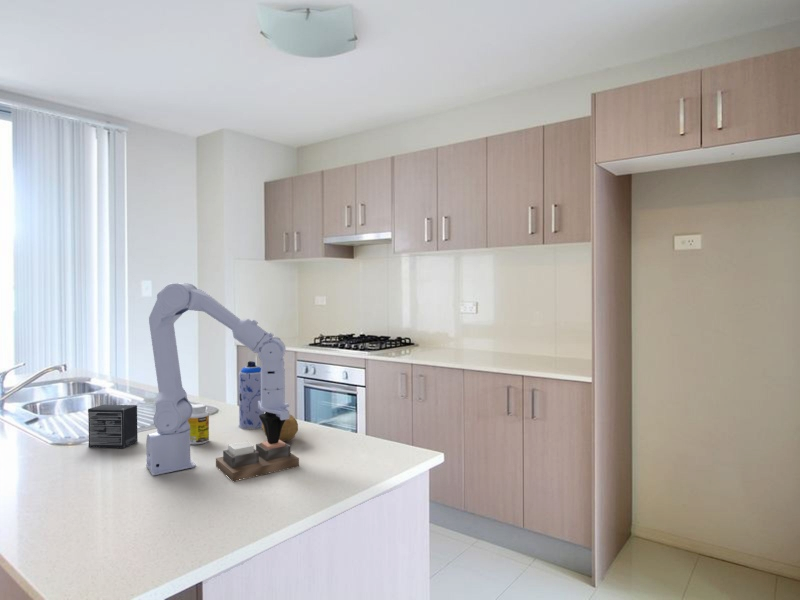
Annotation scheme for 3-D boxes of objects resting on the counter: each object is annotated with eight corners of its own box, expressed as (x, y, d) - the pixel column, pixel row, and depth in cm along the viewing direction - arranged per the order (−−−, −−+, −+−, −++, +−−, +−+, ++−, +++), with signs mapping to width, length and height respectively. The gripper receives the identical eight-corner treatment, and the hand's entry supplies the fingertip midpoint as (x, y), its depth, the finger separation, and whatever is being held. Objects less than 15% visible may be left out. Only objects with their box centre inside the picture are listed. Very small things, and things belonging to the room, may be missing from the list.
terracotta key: (268, 455, 121) (268, 446, 121) (260, 450, 124) (260, 442, 124) (285, 451, 123) (285, 443, 123) (278, 446, 127) (277, 438, 127)
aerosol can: (238, 423, 159) (238, 360, 159) (264, 421, 161) (264, 359, 161) (238, 430, 152) (238, 364, 151) (265, 428, 154) (265, 363, 153)
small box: (139, 441, 141) (138, 404, 141) (124, 449, 134) (123, 409, 134) (103, 440, 142) (103, 403, 142) (87, 447, 135) (86, 408, 135)
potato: (273, 450, 133) (272, 420, 133) (255, 437, 145) (254, 409, 145) (307, 443, 139) (306, 414, 139) (287, 431, 151) (286, 404, 150)
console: (232, 481, 112) (232, 462, 112) (215, 466, 121) (215, 448, 121) (299, 466, 122) (298, 448, 121) (278, 453, 131) (278, 436, 131)
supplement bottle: (198, 446, 136) (197, 408, 136) (182, 443, 139) (182, 406, 138) (213, 440, 142) (213, 404, 141) (198, 438, 144) (198, 402, 143)
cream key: (234, 458, 116) (234, 449, 116) (228, 452, 119) (228, 444, 119) (253, 454, 118) (253, 445, 118) (246, 449, 122) (246, 441, 122)
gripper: (301, 390, 120) (301, 447, 120) (276, 381, 132) (276, 433, 132) (273, 394, 116) (273, 453, 116) (249, 384, 127) (250, 438, 128)
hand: (273, 442), depth 124 cm, fingers closed, pressing on terracotta key
